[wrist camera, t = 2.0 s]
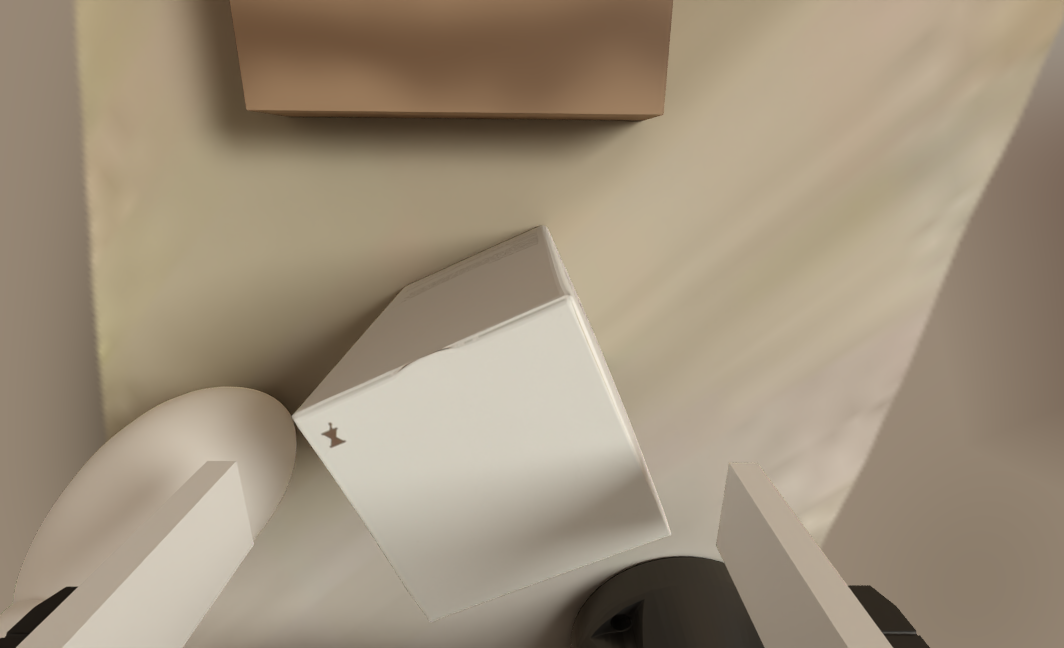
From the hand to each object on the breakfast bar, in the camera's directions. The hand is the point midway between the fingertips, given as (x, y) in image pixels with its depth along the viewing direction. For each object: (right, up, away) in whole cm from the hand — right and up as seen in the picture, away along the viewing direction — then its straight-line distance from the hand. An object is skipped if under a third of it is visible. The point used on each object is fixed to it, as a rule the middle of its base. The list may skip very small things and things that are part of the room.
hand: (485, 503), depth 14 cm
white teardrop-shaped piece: (-15, -1, +17) cm, 23 cm away
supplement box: (0, +5, +16) cm, 17 cm away
